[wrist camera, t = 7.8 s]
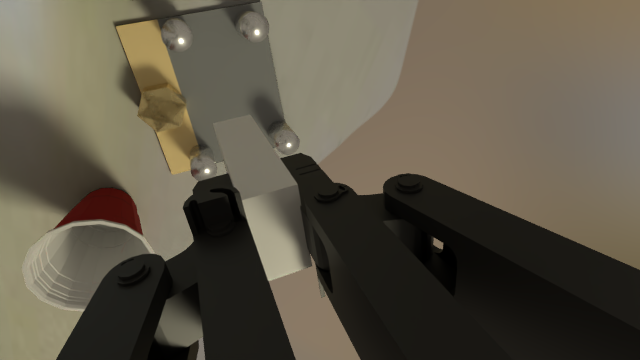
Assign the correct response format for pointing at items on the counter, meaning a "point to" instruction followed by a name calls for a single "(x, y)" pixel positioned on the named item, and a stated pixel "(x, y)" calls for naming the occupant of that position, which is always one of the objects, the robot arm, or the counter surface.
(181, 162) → the mat
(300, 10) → the counter surface
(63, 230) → the plastic cup
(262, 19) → the ball
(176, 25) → the spacer
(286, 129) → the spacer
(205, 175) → the spacer
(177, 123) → the tan faceted flat piece
